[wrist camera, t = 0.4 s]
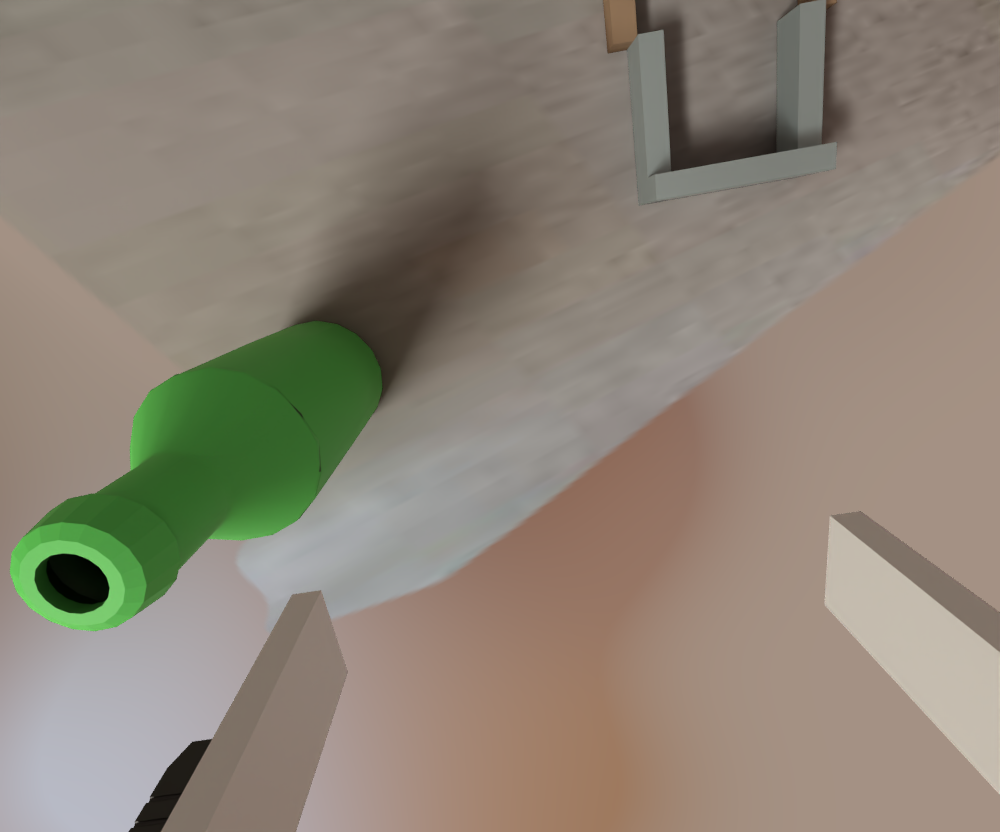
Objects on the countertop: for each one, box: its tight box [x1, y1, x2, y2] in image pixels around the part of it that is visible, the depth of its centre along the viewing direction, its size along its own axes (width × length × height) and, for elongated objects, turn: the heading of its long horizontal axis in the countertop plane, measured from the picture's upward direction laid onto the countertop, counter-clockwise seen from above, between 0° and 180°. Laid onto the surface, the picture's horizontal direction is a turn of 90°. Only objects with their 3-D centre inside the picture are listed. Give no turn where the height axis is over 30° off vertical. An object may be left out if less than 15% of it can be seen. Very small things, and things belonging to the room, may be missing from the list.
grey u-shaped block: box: [627, 0, 837, 205], centre depth 32 cm, size 9×11×4 cm
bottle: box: [10, 321, 383, 631], centre depth 27 cm, size 9×9×25 cm
